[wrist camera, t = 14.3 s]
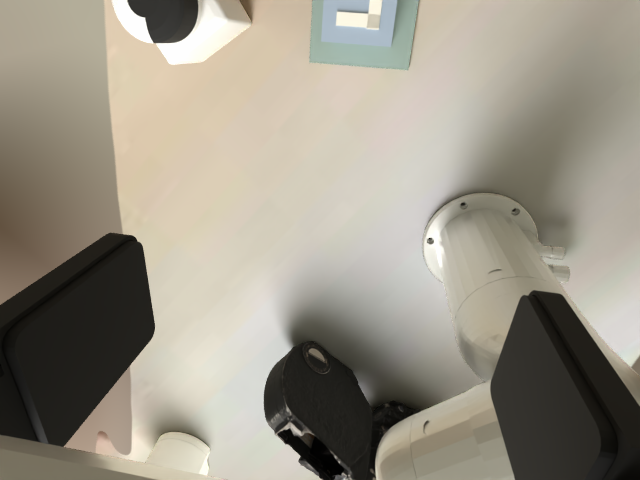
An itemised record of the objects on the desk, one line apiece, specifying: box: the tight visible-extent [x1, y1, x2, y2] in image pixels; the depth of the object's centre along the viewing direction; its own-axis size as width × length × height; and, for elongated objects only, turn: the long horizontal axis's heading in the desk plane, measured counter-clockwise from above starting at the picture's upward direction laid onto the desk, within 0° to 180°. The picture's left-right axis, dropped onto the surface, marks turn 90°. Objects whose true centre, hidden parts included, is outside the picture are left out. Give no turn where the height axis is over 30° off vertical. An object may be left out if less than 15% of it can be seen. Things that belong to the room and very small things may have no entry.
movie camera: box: [264, 342, 422, 480], centre depth 52 cm, size 31×18×18 cm, turn 48°
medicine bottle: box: [112, 0, 252, 65], centre depth 35 cm, size 7×7×12 cm
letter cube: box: [321, 0, 397, 47], centre depth 35 cm, size 6×6×6 cm
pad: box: [309, 0, 419, 70], centre depth 38 cm, size 10×10×1 cm
